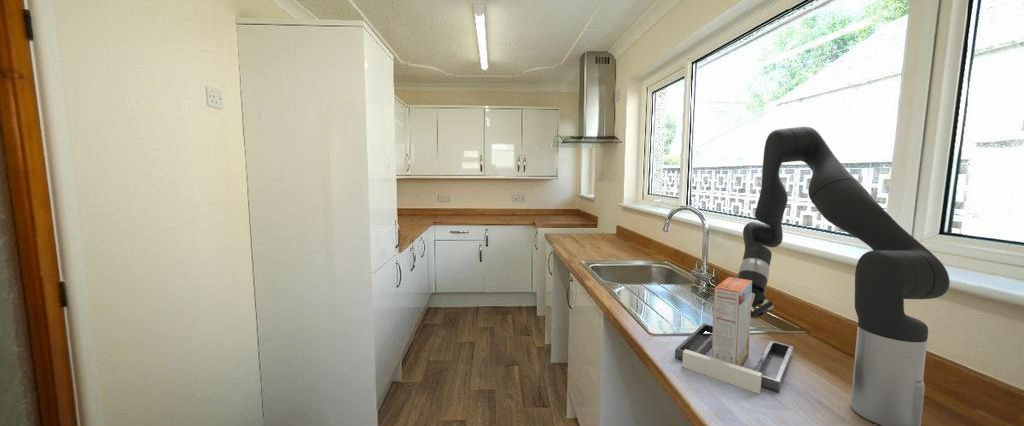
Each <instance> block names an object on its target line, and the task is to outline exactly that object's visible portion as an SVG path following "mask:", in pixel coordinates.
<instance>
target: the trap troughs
mask: <svg viewBox="0 0 1024 426" xmlns="http://www.w3.org/2000/svg"><path fill="white" fill-rule="evenodd" d="M705 331H707V332H710V333H713V324H712V325H711V324H706V323H702V324H701V325H700V326H699V327H698V328H697V329H696V330H694V332H692V333H691V334H690V335H688V337H686V339H684V340H683V341H682V342H681V343H680V344H679V345H678V346H677V347H676V348H675V350H674V352H675V353H674V359H676V358H678V359H677V360H679V359H680V360H679V361H682V360H683V351H684V350H685V349H687V350H690V351H693V352H696V353H699V354H703V355H706V354H707V353H708V352H709V350H710V349H712V335H713V334H703V333H704V332H705ZM706 352H707V353H706ZM793 354H794V346H793V345H789V344H786V343H782V342H777V341H774V340H769V342H768V344H767V346H766V348H765V350H764V352H763V353H762V356H761V357H760V359H759V361H758V362H757V364H756V366H755V367H754V371H757V372H760V373H762V381H761V389H762V388H763V389H766V390H768V391H772V392H774V393H780V390H781V388H782V385H783V382H784V380H785V376H786V373H788V372H787V371H788V370H789V369H788V368H789V366H790V364H789V363H791V361H792V357H793Z"/></svg>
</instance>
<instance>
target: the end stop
mask: <svg viewBox="0 0 1024 426" xmlns="http://www.w3.org/2000/svg"><path fill="white" fill-rule="evenodd" d="M681 365H682V368H683V367H684V368H683V369H687V370H690V371H692V372H694V373H698V374H700V375H703V376H707V377H709V378H712V379H715V380H716V381H717V380H718V381H721V382H724V383H727V384H730V385H732V386H736V387H737V388H741V389H743V390H747V391H749V392H752V393H754V394H758V395H760V392H761V390H762V387H761V381H762V373H760V372H757V371H754V370H753V369H751V368H747V367H744V366H742V367H741V366H738V365H735V364H732V363H728V362H725V361H722V360H719V359H716V358H712V356H710V355H709V356H708V355H706V354H705V355H703V354H699V353H696V352H693V351H690V350H687V349H685V350H684V351H683V361H682V364H681Z"/></svg>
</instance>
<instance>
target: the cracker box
mask: <svg viewBox="0 0 1024 426" xmlns="http://www.w3.org/2000/svg"><path fill="white" fill-rule="evenodd" d="M751 296H752V281H751V280H746V279H740V278H737V277H732V276H728V277H726V278H725V279H724V280H723V281H722V282H720V283H719V284H718V285H716V286H715V287H714V288H713V308H712V309H713V313H712V326H713V335H712V347H711V357H712V358H716V359H719V360H722V361H725V362H728V363H732V364H735V365H738V366H741V367H744V365H745V363H746V361H747V359H748V357H749V355H750V354H749V353H750V352H749V351H750V337H751V335H750V334H751V333H750V332H751V318H750V315H751Z"/></svg>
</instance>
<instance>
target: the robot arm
mask: <svg viewBox="0 0 1024 426" xmlns="http://www.w3.org/2000/svg"><path fill="white" fill-rule="evenodd" d="M762 160H763V161H762V170H761V184H760V185H761V186H760V187H761V188H760V193H759V197H758V199H757V200H758V201H757V204H756V208H755V211H754V217H755V219H756V220H757V221H759V222H756V221H751V222H748V223H747V224H745V226H744V227H743V230H742V236H743V241H744V242H743V243H744V253H743V256H742V261H741V264H740V267H739V269H738V273H737V277H736V278H740V279H746V280H751V281H752V296H751V315H750V319H753V318H754V319H756V320H757V319H759V318H761V317H762V316H764V315H765V314H767V313H769V312H770V311H772V310H773V309H774V303H773V301H770V300H768V299H767V296H766V290H767V287H768V281H769V276H770V266H771V260H772V256H773V254H772V251H771V250H770V249H769V248H772V249H773V248H777V247H778V246H780V245H781V244H782V242H783V240H784V238H783V234H784V232H783V226H782V225H783V224H782V222H783V217H784V213H785V210H786V207H787V205H788V193H787V189H786V188H785V186H784V184H783V182H782V179H781V178H780V168H781V166H782V164H783V163H791V162H803V163H805V164H806V165H807V166H808V167H809V168H810V170H811V172H812V173H811V174H812V175H811V178H810V181H809V185H808V190H807V191H808V197H809V199H810V200H811V201H810V202H811V203H812V204H813V205H814V206H815V208H816V209H817V211H818V212H819V214H820V215H821V216H822V217H823V218H824V219H826V221H828V222H829V223H830V224H832V225H833V226H835V227H837V228H838V229H841V230H842V231H844V232H846V233H847V234H849V235H851V236H852V237H854V238H856V239H858V240H859V241H861V242H863V243H864V244H866V246H868V247H870V248H871V249H872V250H870V251H866V252H865V253H863V254H862V255H861V256H860V258H859V259H858V260H857V263H856V266H855V273H854V310H855V313H856V315H857V332H856V341H855V342H856V343H855V350H854V351H855V352H854V363H853V374H852V375H853V376H852V385H851V395H850V407H851V409H852V410H853V412H855V413H856V414H858V415H859V416H860V417H862V418H864V419H866V420H868V421H870V422H872V423H874V424H877V425H880V426H922V417H923V416H922V415H923V409H924V407H923V406H924V399H925V390H926V384H925V381H924V375H925V374H924V373H925V367H926V366H925V365H926V364H925V363H926V356H927V347H928V346H927V345H928V339H929V327H928V325H927V324H926V323H925V322H924V321H922V320H920V319H918V318H915V317H913V316H909V315H908V314H906V313H905V309H904V308H905V305H904V304H905V303H904V302H905V301H904V300H932V299H936V298H940V297H942V296H944V295H945V294H946V293H947V292H948V290H949V289H950V282H951V281H950V277H949V273H948V271H947V269H946V267H945V266H944V264H943V263H942V261H941V260H940V259H938V258H937V256H936V255H934V254H933V253H932V252H931V251H930V250H929V249H928V248H926V247H925V245H923V244H922V243H921V242H919V241H918V240H917V239H916V238H915V237H914V236H913V235H911V234H910V233H909V232H907V231H906V229H904V228H903V227H902V226H901V225H900V224H898V222H897V221H896V220H894V219H893V218H892V216H891V215H890V214H889V213H888V212H887V211H886V210H885V209H884V208H883V207H882V206H881V205H880V204H879V203H878V202H877V201H876V200H875V198H873V197H872V195H871V194H870V192H869V191H867V189H866V188H865V187H864V186H863V185H862V184H861V183H860V182H859V181H858V180H857V179H856V178H855V176H853V175H852V174H851V173H850V172H849V171H848V169H846V167H844V165H843V164H842V163H841V162H840V160H839V159H838V158H837V157H836V155H835V154H834V153H833V151H832V150H831V148H830V147H829V145H828V144H827V142H826V141H825V139H824V138H823V137H822V136H821V134H820V133H819V132H818V131H817V130H816V129H815V128H813V127H810V126H798V127H788V128H779V129H774V130H772V131H771V132H769V134H768V135H767V137H766V140H765V143H764V149H763V159H762ZM760 305H761V306H760ZM755 308H756V309H755Z"/></svg>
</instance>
